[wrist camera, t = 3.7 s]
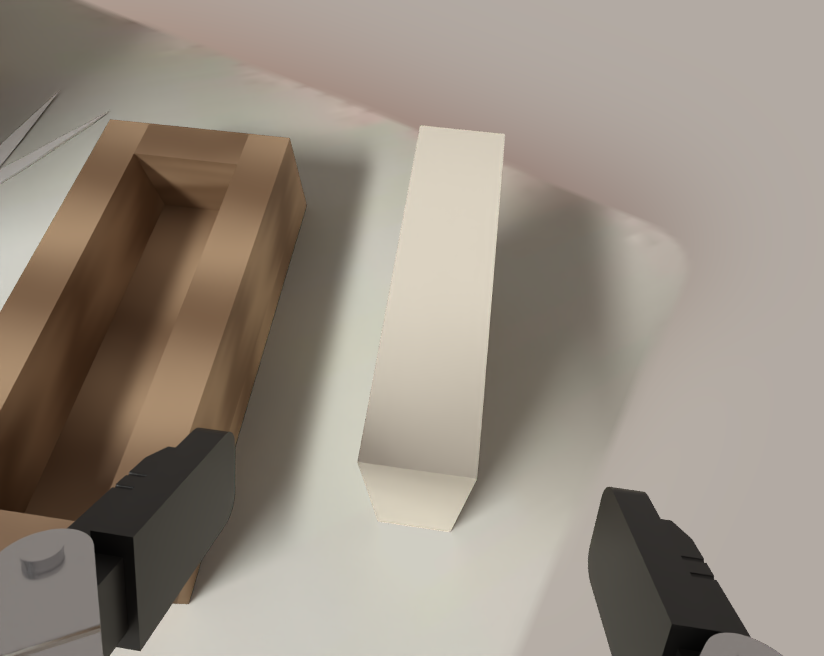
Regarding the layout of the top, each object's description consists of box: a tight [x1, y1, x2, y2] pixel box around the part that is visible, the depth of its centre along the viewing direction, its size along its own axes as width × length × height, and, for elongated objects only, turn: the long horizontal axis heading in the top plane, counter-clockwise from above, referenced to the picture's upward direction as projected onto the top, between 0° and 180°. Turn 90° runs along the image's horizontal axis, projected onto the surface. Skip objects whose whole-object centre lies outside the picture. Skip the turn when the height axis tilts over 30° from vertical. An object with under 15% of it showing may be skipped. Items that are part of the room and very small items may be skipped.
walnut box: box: [0, 119, 307, 604], centre depth 24 cm, size 20×9×5 cm, turn 172°
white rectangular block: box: [358, 125, 505, 532], centre depth 21 cm, size 12×3×10 cm, turn 172°
